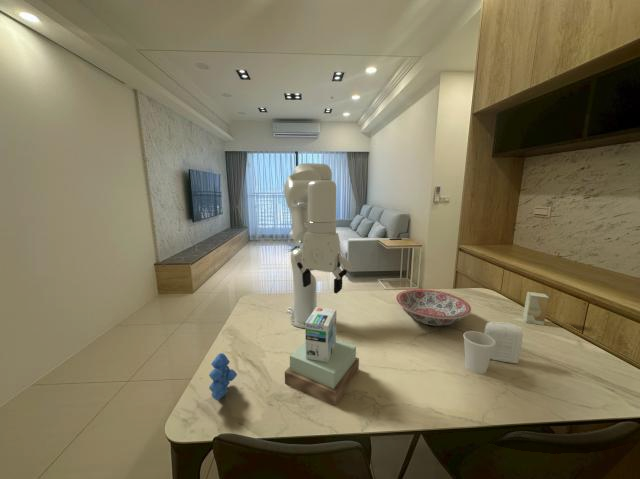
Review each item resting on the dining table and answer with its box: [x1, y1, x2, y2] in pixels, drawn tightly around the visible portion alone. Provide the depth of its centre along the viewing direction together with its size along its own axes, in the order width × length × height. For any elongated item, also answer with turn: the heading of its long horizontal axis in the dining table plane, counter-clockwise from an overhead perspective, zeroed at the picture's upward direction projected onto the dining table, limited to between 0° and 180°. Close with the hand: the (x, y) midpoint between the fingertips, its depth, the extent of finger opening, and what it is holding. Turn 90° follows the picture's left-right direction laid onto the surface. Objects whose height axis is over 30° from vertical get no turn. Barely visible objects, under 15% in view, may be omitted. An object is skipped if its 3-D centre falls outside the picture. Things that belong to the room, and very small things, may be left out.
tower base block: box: [284, 357, 360, 407], centre depth 77 cm, size 16×16×4 cm
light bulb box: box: [304, 306, 337, 363], centre depth 75 cm, size 11×7×11 cm, turn 165°
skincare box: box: [522, 291, 550, 326], centre depth 108 cm, size 6×4×12 cm
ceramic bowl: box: [395, 288, 472, 327], centre depth 111 cm, size 29×29×8 cm
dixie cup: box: [462, 330, 495, 374], centre depth 80 cm, size 8×8×10 cm
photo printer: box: [483, 321, 524, 364], centre depth 84 cm, size 10×4×12 cm, turn 72°
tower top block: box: [289, 339, 357, 389], centre depth 76 cm, size 14×14×4 cm
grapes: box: [208, 352, 238, 401], centre depth 69 cm, size 12×7×12 cm, turn 8°
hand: (321, 288), depth 73 cm, fingers open, 9 cm apart
